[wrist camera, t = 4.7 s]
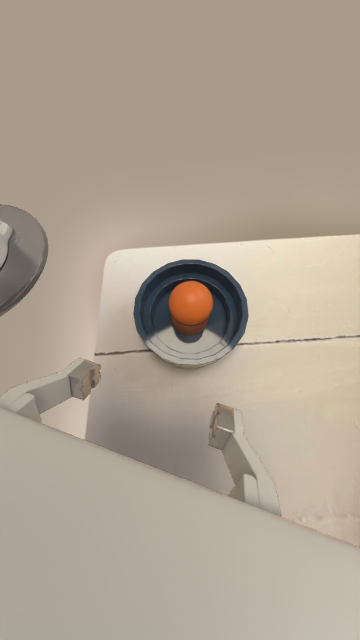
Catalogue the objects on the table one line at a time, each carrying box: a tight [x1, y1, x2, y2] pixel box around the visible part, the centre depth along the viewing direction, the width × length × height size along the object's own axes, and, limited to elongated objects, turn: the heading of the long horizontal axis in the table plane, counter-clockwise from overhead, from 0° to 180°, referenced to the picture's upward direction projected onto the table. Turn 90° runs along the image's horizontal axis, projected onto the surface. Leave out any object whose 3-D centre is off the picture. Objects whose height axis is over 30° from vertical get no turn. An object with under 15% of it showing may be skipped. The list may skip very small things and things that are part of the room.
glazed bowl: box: [134, 260, 248, 368], centre depth 24 cm, size 14×14×5 cm
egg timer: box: [169, 281, 213, 336], centre depth 22 cm, size 5×5×8 cm
